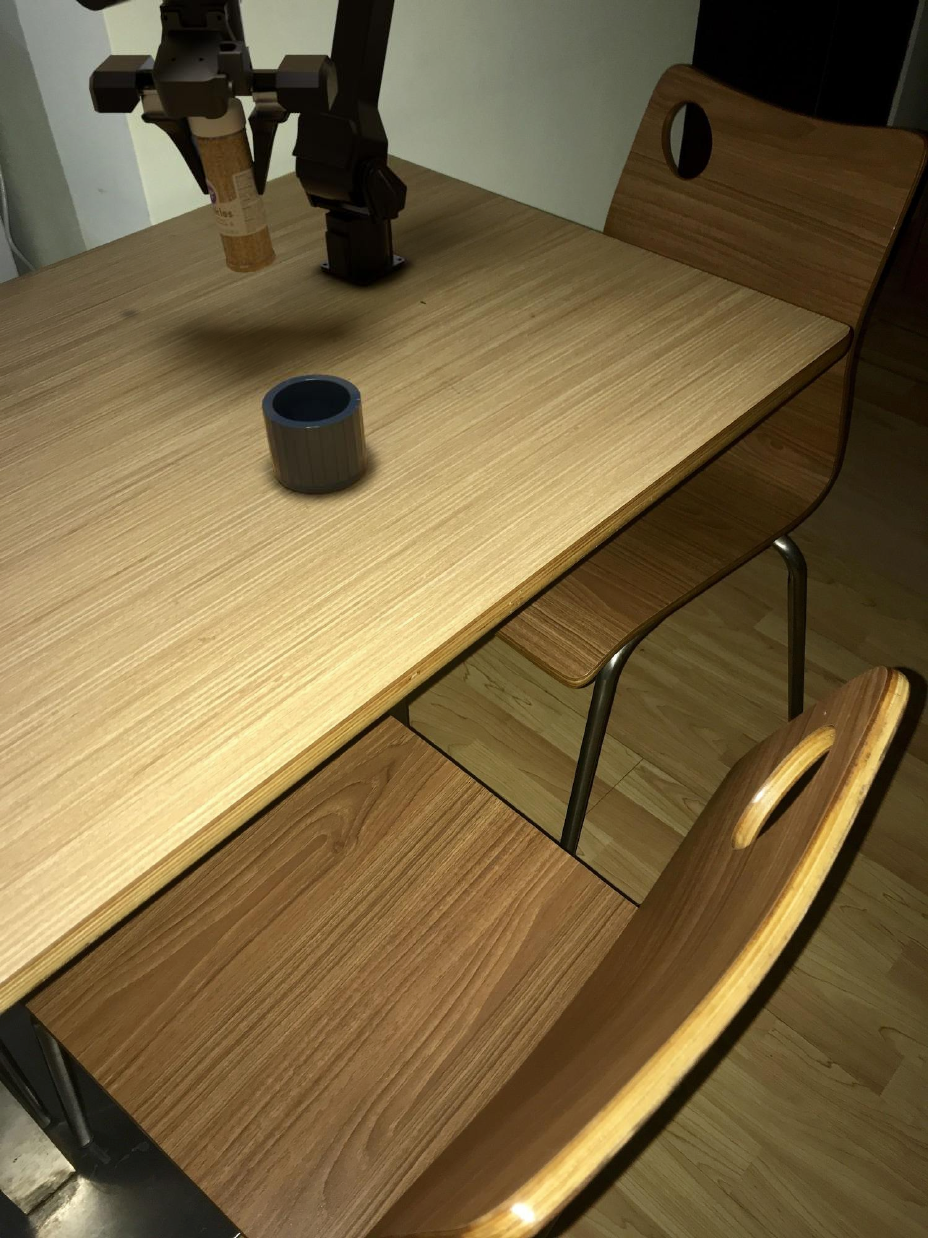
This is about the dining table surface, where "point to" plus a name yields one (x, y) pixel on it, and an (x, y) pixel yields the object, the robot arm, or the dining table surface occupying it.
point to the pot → (315, 433)
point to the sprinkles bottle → (234, 189)
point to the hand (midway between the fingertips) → (234, 193)
